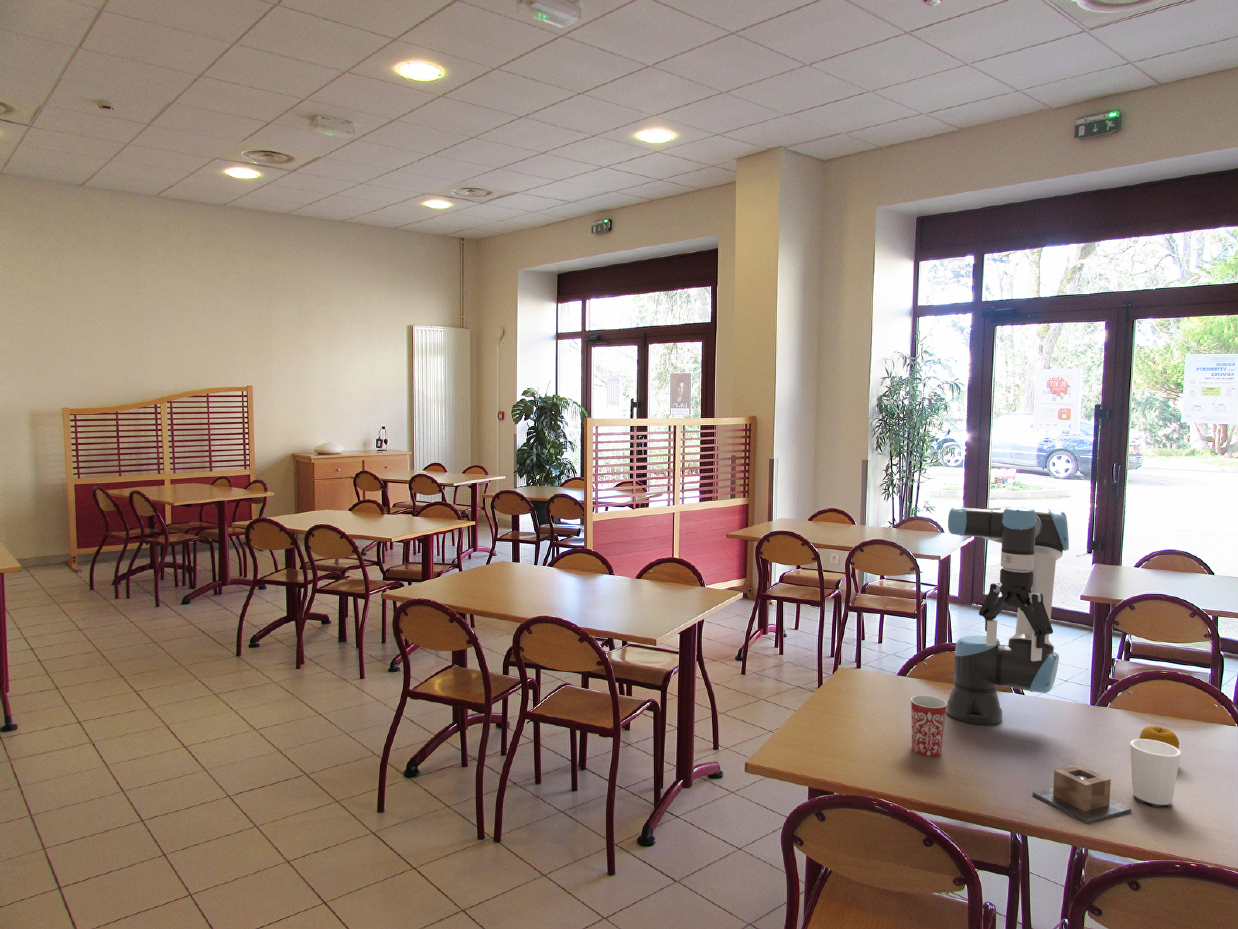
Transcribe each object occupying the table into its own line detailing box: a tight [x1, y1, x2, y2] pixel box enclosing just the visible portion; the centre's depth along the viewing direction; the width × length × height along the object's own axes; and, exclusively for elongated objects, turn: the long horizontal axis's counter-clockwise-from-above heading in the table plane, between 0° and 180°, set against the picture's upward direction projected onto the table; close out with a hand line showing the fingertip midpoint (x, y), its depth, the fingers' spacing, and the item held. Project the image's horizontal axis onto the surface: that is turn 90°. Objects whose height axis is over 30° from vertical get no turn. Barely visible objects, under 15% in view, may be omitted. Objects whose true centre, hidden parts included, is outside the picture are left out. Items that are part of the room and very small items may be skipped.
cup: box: [1129, 738, 1182, 808], centre depth 188 cm, size 10×10×13 cm
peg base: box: [1032, 776, 1132, 825], centre depth 186 cm, size 14×14×6 cm
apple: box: [1138, 725, 1180, 750], centre depth 209 cm, size 8×8×9 cm
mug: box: [910, 694, 948, 757], centre depth 215 cm, size 13×9×14 cm
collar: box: [1053, 764, 1112, 811], centre depth 186 cm, size 8×8×6 cm
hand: (1012, 652), depth 205 cm, fingers open, 13 cm apart
